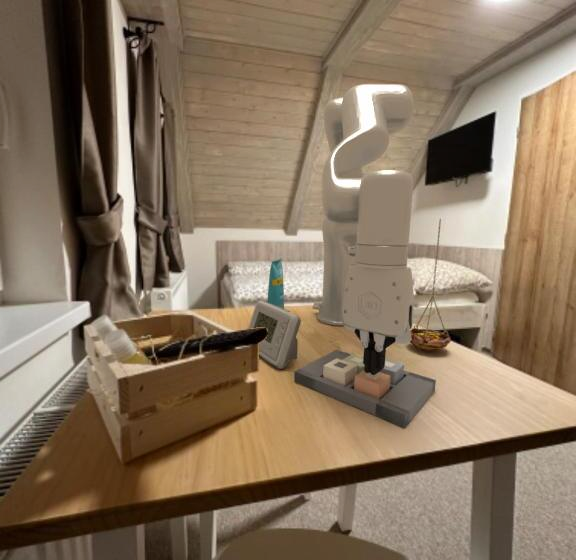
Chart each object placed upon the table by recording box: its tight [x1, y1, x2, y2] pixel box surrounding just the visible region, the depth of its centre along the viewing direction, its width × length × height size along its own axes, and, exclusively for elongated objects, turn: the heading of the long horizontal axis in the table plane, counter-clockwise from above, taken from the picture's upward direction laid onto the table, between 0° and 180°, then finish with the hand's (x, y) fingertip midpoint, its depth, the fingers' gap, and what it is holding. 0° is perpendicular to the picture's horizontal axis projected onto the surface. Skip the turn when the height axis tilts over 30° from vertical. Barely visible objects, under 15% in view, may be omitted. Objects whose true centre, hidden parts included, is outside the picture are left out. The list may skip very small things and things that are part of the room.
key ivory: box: [323, 358, 357, 386], centre depth 56 cm, size 4×4×3 cm
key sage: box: [343, 353, 365, 373], centre depth 60 cm, size 4×4×3 cm
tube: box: [266, 258, 285, 309], centre depth 83 cm, size 7×5×19 cm, turn 169°
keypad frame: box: [293, 349, 437, 429], centre depth 56 cm, size 20×14×2 cm
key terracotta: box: [354, 370, 391, 399], centre depth 52 cm, size 4×4×3 cm
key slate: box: [380, 358, 405, 385], centre depth 56 cm, size 4×4×3 cm
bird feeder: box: [409, 218, 451, 351], centre depth 72 cm, size 9×9×30 cm
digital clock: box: [247, 300, 302, 370], centre depth 68 cm, size 16×9×11 cm, turn 22°
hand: (373, 371), depth 51 cm, fingers closed
